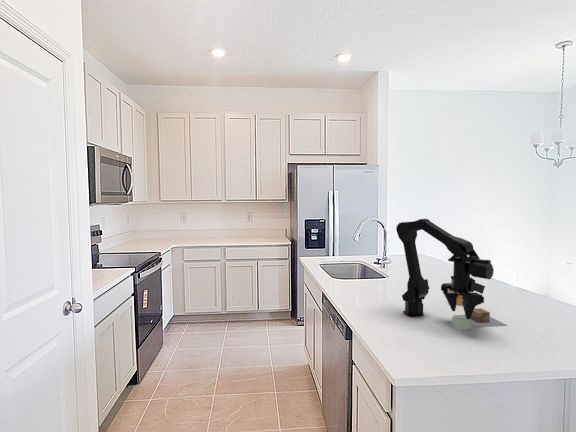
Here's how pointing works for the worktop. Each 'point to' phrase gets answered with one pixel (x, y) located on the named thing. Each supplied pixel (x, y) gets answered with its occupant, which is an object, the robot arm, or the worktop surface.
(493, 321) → the slate mat
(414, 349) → the worktop surface
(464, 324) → the sage block
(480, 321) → the walnut block
